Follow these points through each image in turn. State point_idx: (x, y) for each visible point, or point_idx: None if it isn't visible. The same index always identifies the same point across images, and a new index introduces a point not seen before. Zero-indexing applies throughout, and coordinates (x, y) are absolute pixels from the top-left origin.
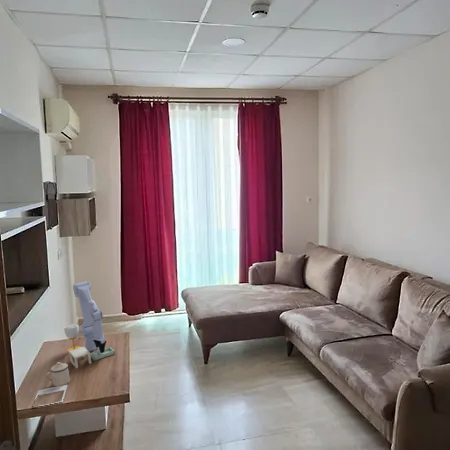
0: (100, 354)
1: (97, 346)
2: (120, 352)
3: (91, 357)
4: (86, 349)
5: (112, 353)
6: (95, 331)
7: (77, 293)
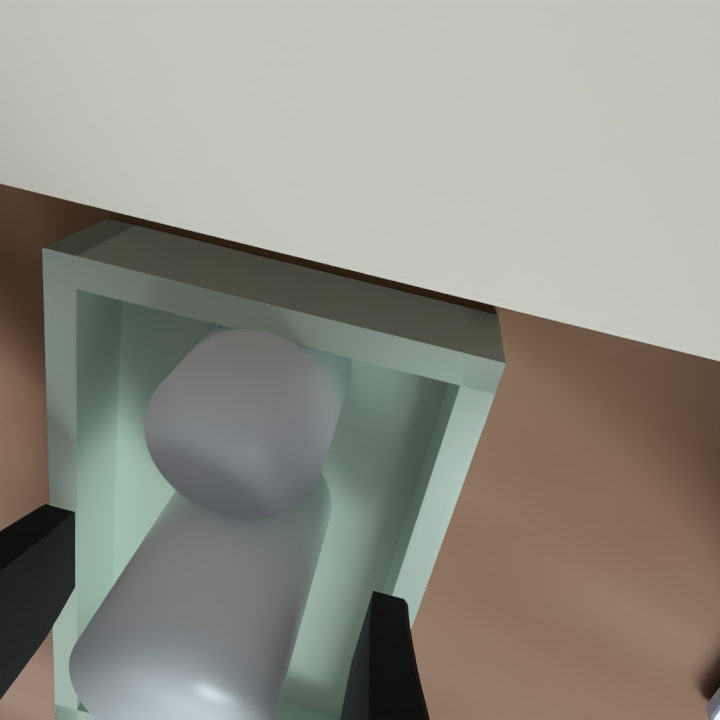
0: None
1: (360, 712)
2: None
3: (379, 290)
4: (172, 206)
5: None
6: None
7: None
